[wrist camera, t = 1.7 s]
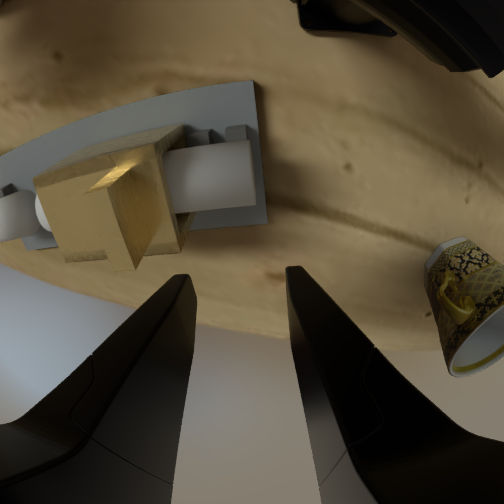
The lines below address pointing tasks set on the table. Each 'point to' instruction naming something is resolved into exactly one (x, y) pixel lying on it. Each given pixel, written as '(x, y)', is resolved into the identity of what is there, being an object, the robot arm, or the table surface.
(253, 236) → the table surface
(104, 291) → the table surface
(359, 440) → the robot arm
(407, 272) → the table surface
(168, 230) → the coupling
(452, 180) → the table surface
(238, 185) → the pipe run
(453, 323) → the ceramic cup
